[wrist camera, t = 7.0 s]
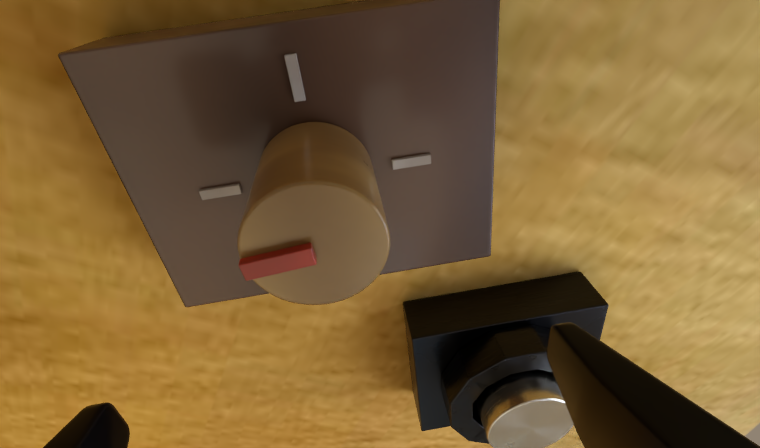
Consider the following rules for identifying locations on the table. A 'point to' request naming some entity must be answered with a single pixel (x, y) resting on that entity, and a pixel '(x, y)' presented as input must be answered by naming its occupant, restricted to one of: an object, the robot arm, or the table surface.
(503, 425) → the power button
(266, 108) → the console
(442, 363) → the switch block
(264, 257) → the volume knob
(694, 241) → the table surface
